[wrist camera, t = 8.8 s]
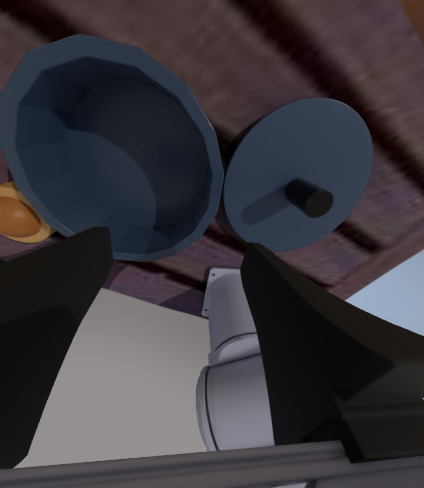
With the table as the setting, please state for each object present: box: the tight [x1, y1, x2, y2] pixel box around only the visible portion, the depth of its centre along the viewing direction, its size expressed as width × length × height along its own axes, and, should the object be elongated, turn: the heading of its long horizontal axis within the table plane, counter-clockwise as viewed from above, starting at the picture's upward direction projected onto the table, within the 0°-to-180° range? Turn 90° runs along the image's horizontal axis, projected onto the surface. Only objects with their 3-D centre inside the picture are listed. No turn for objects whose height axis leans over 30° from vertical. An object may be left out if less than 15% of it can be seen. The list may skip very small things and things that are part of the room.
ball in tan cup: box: [0, 181, 56, 243], centre depth 16 cm, size 5×5×4 cm
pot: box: [0, 34, 224, 262], centre depth 15 cm, size 14×14×5 cm
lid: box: [223, 97, 373, 251], centre depth 17 cm, size 15×15×5 cm
